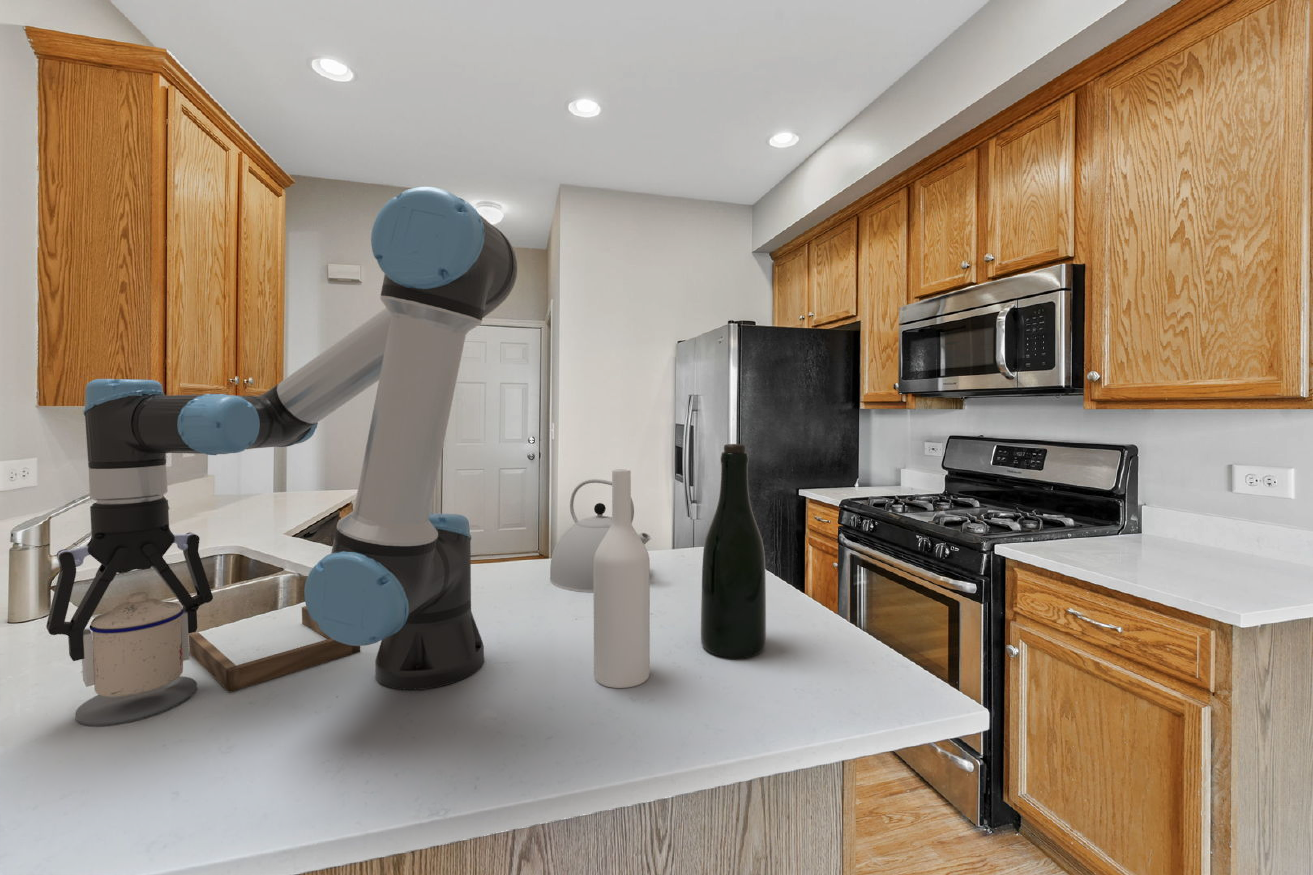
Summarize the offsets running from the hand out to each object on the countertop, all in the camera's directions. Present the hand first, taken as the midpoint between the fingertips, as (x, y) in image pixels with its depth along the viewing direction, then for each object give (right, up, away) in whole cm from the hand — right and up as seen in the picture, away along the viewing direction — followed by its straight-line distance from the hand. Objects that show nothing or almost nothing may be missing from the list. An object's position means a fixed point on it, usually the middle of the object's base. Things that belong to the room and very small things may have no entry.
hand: (138, 669), depth 77 cm
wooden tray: (+8, -3, +16) cm, 18 cm away
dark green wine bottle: (+81, -4, +18) cm, 83 cm away
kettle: (+56, -2, +56) cm, 80 cm away
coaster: (0, -4, 0) cm, 4 cm away
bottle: (+63, -4, +8) cm, 64 cm away
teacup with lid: (0, -2, 0) cm, 2 cm away
